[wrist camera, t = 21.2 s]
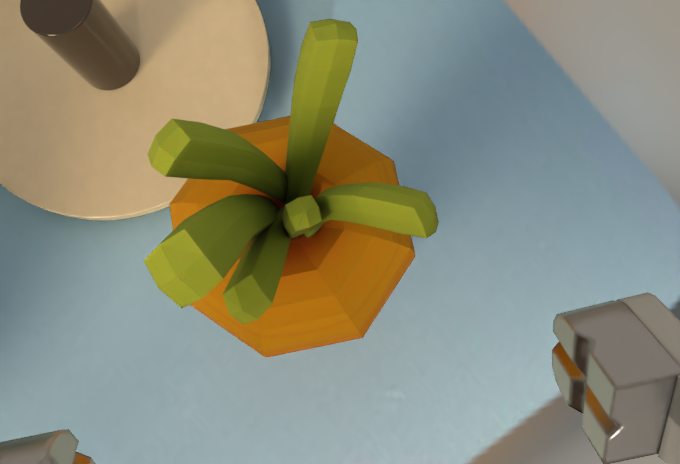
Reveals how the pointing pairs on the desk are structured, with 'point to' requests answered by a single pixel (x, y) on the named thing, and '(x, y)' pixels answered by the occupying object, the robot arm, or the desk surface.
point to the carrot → (287, 215)
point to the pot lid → (118, 94)
